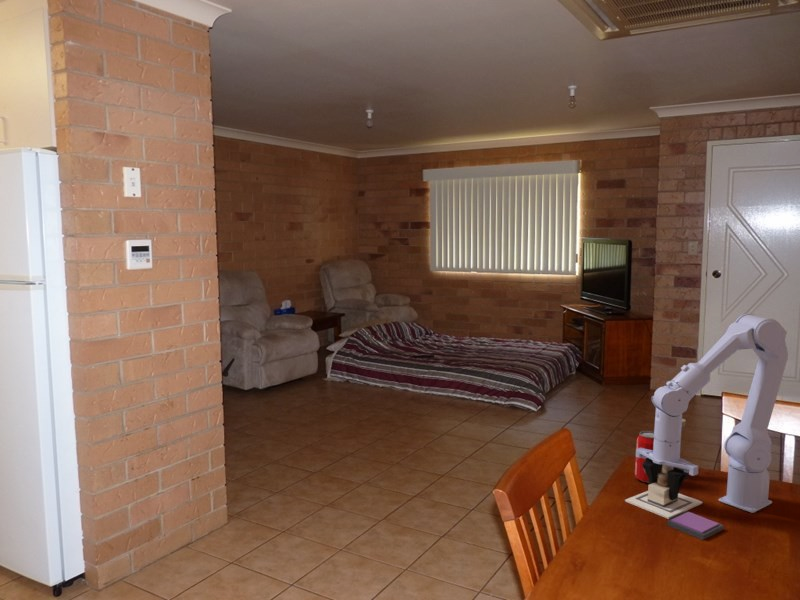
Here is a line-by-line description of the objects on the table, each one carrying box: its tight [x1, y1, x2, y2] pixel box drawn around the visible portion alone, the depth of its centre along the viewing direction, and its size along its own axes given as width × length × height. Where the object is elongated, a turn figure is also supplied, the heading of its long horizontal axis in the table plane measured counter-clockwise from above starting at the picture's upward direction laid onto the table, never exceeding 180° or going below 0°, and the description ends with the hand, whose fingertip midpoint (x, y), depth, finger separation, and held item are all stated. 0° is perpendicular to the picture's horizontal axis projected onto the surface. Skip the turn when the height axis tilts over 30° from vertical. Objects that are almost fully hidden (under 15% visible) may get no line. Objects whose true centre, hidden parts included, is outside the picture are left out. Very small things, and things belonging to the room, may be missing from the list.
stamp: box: [647, 472, 678, 508], centre depth 148 cm, size 6×4×6 cm, turn 127°
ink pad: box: [666, 510, 724, 541], centre depth 136 cm, size 8×8×1 cm
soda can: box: [634, 430, 662, 484], centre depth 161 cm, size 6×6×12 cm
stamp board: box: [624, 490, 703, 520], centre depth 148 cm, size 14×11×1 cm
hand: (663, 495), depth 148 cm, fingers closed on stamp, 4 cm apart
